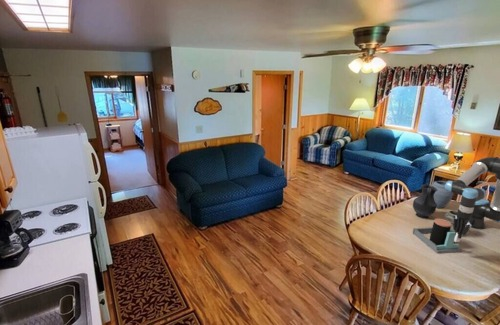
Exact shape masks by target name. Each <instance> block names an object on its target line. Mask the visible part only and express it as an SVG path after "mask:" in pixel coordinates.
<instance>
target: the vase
mask: <svg viewBox="0 0 500 325" xmlns="http://www.w3.org/2000/svg"><path fill="white" fill-rule="evenodd" d="M446 183H447V181H445V180H436V181H435V180H434V181H433V182H432V184H430V185H431V186H435V187H436V188H437V189H438V190H437V191H436V192H435V193H434V201H435V203H436V204H437V207H436V209H442V208H444V207H446V206H447V205H448V204H449V203H450V202H451V200H452V198H453V197H454V194H455V193H452V192H450V191H447V190H446V189H445V184H446Z"/></svg>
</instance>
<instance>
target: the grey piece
mask: <svg viewBox="0 0 500 325" xmlns="http://www.w3.org/2000/svg"><path fill="white" fill-rule="evenodd" d="M432 227H433V226H431V227H417V228H414V227H413V230H412V235H414V236H416V238H417V239H419V240H420V241H421V242H422V243H424V244H425V245H426V246H427V247H429V248H430V250H432V251H433V252H434V253H436V254H444V253H445V254H446V253H447V254H448V253H460V252H462V251H463V248H461V247H458V248H456V249H443V250H438V246H437V245H436V244H434V243H433V242H432V241H430V240H429V239H430V238H428V237H427V236H426V235H424V234H431V231H432Z"/></svg>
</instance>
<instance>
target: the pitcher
mask: <svg viewBox="0 0 500 325" xmlns="http://www.w3.org/2000/svg"><path fill="white" fill-rule="evenodd" d="M431 185H432V184H422V185H421V186H420V187H421V189H422V190H421V193H420V194H419V195H418V196H417V197H416V198H414V200H413V201H412V202H413V203H412V208H413V210H414V212H415V216H416V217H417V218H419V219H425V220H426V219H429V216H431V215H433V214H434V213H435V211H437V208H436V207H437V204H436V203H435V201H434V193H435V192H436V191H437V190H438V189H437V188H436V187H435V186H431Z"/></svg>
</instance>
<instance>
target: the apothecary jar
mask: <svg viewBox="0 0 500 325" xmlns="http://www.w3.org/2000/svg"><path fill="white" fill-rule="evenodd" d="M457 212H458V210H454V209H452V210H448V211H447V212H446V213H445V214H444V217H445V220H447V221H449V222H450V223H451V224H452V225H451V229H450V232H455V230H454V229H453V225H454V218H453V216H457Z"/></svg>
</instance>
